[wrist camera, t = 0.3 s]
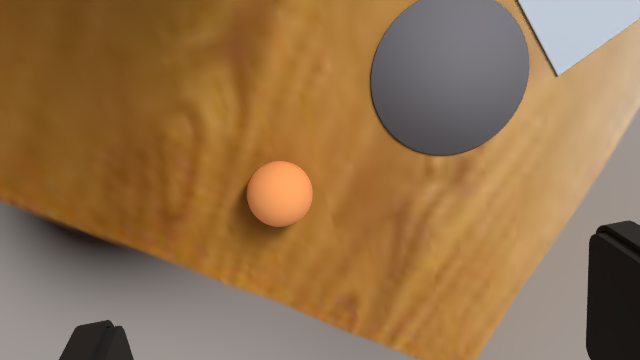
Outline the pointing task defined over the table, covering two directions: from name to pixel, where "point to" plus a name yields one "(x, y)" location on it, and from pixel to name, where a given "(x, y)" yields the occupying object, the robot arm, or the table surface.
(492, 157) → the table surface
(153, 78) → the table surface
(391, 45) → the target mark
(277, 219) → the ball
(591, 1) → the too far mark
